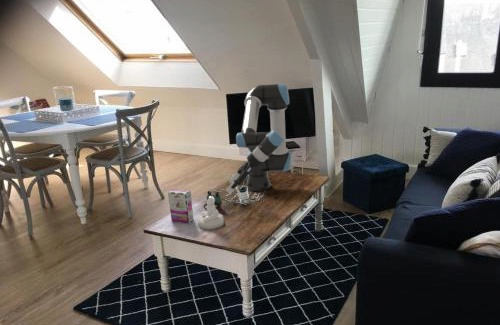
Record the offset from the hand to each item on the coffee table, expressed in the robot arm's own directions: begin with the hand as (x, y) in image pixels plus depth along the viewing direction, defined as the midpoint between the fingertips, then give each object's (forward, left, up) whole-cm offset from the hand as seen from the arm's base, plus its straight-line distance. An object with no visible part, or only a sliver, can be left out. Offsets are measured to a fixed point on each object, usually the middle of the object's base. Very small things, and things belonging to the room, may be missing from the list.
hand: (229, 187), depth 201 cm
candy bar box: (-5, -27, -20) cm, 34 cm away
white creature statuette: (0, -11, -17) cm, 20 cm away
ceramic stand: (0, -11, -20) cm, 22 cm away
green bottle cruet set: (-16, -12, -20) cm, 28 cm away
